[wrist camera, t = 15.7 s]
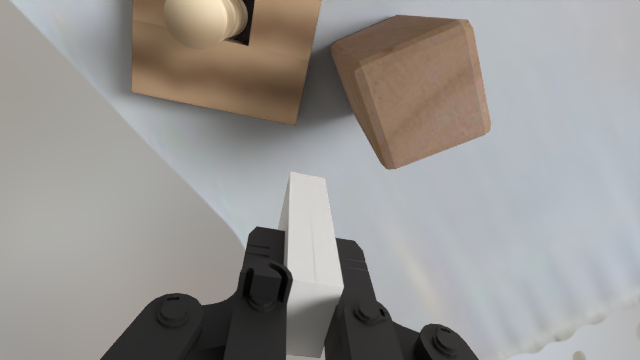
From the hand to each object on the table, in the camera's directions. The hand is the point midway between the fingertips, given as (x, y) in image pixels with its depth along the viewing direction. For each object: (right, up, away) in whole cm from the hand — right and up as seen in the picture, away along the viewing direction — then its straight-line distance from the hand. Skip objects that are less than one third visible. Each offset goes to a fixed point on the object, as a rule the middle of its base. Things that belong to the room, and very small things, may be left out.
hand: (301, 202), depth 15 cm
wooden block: (+8, +16, +31) cm, 36 cm away
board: (-10, +21, +27) cm, 36 cm away
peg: (-10, +21, +27) cm, 36 cm away
